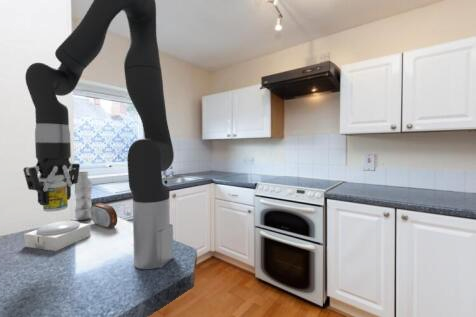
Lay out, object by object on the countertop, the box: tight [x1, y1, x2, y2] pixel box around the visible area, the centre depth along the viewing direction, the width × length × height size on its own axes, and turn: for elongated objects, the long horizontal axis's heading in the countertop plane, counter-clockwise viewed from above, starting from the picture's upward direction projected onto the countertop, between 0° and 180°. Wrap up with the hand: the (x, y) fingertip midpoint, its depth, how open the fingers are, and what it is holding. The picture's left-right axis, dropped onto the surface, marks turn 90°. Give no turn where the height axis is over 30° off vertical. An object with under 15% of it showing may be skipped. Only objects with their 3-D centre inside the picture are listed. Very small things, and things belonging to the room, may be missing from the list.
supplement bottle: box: [42, 175, 69, 213], centre depth 64 cm, size 5×5×10 cm
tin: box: [90, 202, 118, 229], centre depth 89 cm, size 15×3×8 cm, turn 58°
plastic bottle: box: [74, 171, 93, 221], centre depth 96 cm, size 6×7×20 cm
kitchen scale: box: [24, 220, 91, 252], centre depth 75 cm, size 12×12×5 cm
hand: (55, 201), depth 64 cm, fingers closed on supplement bottle, 5 cm apart
